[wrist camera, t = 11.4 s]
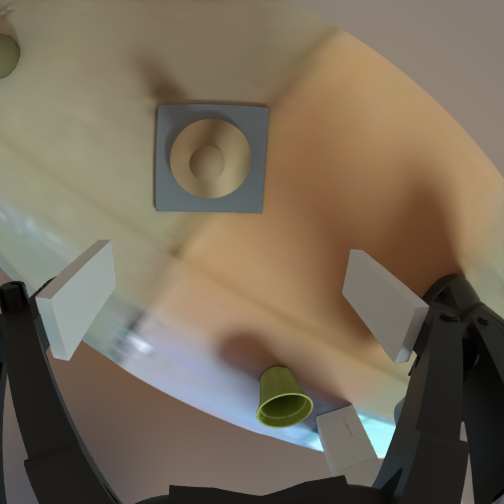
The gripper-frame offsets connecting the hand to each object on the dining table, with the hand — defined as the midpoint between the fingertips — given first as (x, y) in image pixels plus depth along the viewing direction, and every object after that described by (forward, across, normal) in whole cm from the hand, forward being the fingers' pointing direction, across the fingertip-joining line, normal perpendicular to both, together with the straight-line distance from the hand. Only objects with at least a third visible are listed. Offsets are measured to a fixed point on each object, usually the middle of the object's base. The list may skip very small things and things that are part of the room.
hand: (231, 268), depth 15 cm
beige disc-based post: (+23, +2, -5) cm, 24 cm away
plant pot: (+25, -10, +32) cm, 42 cm away
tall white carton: (+25, -26, +49) cm, 61 cm away
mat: (+24, +2, -5) cm, 25 cm away
